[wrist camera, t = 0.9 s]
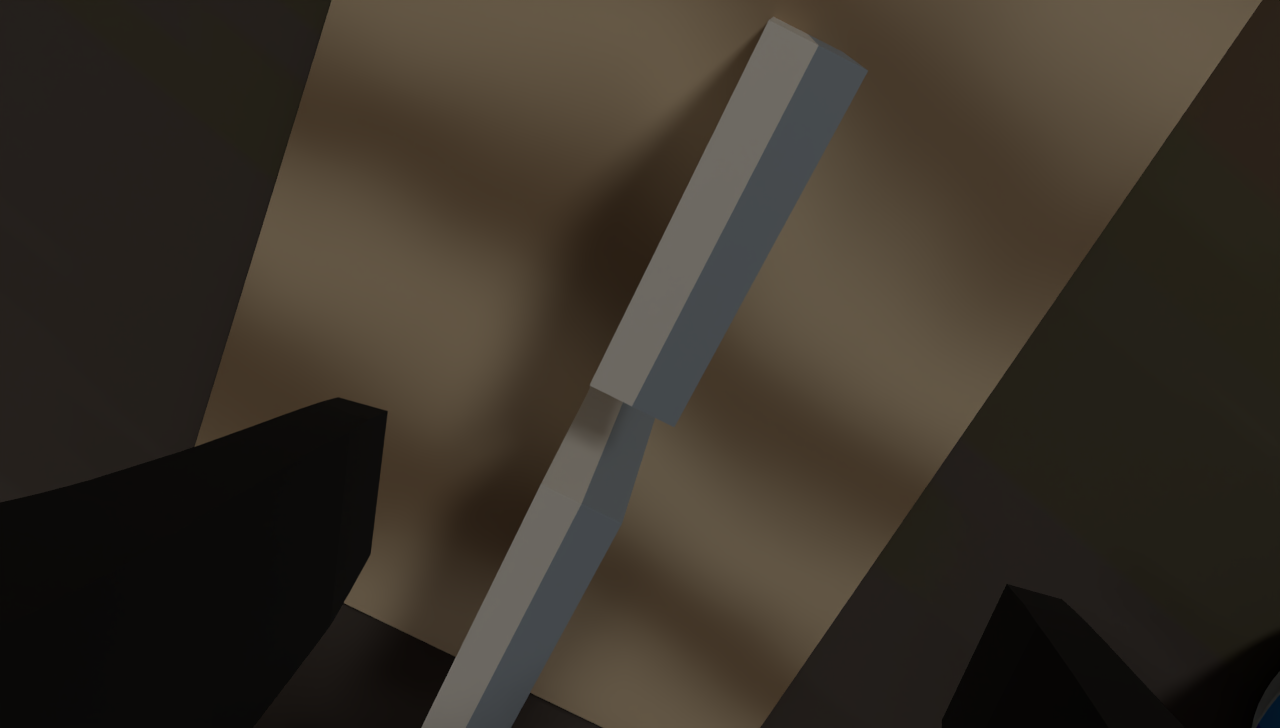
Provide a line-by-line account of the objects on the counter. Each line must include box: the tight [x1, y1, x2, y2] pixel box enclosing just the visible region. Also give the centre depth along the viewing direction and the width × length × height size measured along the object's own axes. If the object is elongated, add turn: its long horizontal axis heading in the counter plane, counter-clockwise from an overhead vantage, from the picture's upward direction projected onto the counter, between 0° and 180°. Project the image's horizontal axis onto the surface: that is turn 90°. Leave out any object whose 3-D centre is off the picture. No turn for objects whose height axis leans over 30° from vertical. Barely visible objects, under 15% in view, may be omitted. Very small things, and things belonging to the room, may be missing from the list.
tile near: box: [589, 17, 868, 427], centre depth 17 cm, size 6×2×6 cm, turn 155°
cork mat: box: [195, 0, 1262, 728], centre depth 21 cm, size 22×16×1 cm
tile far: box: [421, 387, 655, 728], centre depth 20 cm, size 6×2×6 cm, turn 155°
